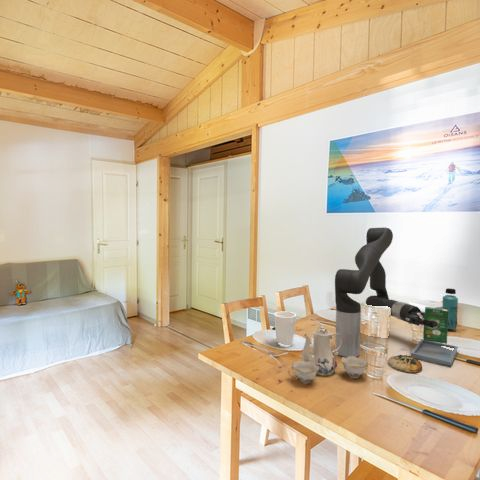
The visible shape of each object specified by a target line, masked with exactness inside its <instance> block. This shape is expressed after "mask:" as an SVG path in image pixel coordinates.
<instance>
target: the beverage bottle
mask: <svg viewBox="0 0 480 480" xmlns="http://www.w3.org/2000/svg"><path fill="white" fill-rule="evenodd" d="M444 293H445V294H446V295H444V296H442V308H441V309H448V311H449V317H448V321H449V325H448V330H449V329H450V330H455V329H457V327H458V308H459V306H458V305H459V304H458V303H459V298H458V297H457V296H455V295H456V294H457V293H456V289H455V288H446V289H445V291H444Z"/></svg>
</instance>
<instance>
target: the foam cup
mask: <svg viewBox="0 0 480 480" xmlns="http://www.w3.org/2000/svg"><path fill="white" fill-rule="evenodd" d="M273 321H274V329H275V336H276V337H275V338H276V343H277V342H278V343H281V344H284V345H291V344H292V345H293V341H294V335H295V327H296V322H297V314H296V313H295V312H291V311H283V310H281V311H276V312H274V313H273Z"/></svg>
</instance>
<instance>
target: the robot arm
mask: <svg viewBox="0 0 480 480" xmlns="http://www.w3.org/2000/svg"><path fill="white" fill-rule="evenodd" d="M393 239H394V235H393V231H392V229H390V228H388V227H369V228H368V229H367V231H366V239H365V240H366V243H365V244H364V245H362V247H361V248H360V249H359V250H358V251H357V252H356V254H355V256H354V263H355V265H356V267H357V269H356V270H355V269H346V268H342V269H341V268H340V269H338V270H336V273H335V276H334V277H335V278H334V294H335V298H334V299H335V333H337V334H339V335H340V336H341V337H342V341H343V343H342V346H341V348H340V349H339V350H337V352H338V355H337V356H341V357H345V358H347V357H348V356H355V357H356V358H358V357H360V354H361V315H362V313H361V312H362V310H361V309H362V306H361V304H360V302H358V301H356V300H354V299H352V298H351V297H350V296H349V295H348V294H352V295H360V294H362V293H363V292H364V290H365V288H366V287H367V284H368V281H369V287H370V289H371V290H372V291H375V293H376V295H370V296H368V297H367V298H366V300H365V305H366V304H367V305H372V306H388V307H390V308H391V315H390V316H391V317H394V318H396V319H397V320H400V321H403V322H406V323H408V324H411V325H415V326H417V327H418V326H420V325H421V326H423V327H424V325H425V326H428V327H431V328H434V322H432V321H429V320H425V319H424V317H425V311H421V309H420V308H419V307H418V306H415V305H414V304H413V305H412V304H410V303H407V302H401V301H397V300H395V299H390V298H389V295H388V290H387V287H386V284H387V283H386V281H387V280H386V278H387V277H386V276H387V275H386V274H387V273H386V270H385V268H384V266H383V264H382V263H381V261H380V259H381V258H382V256H383V254H384V253H385V252H386V250H388V249H389V248H390V246H391V244H392V242H393ZM448 325H449V321H448ZM339 345H340V337H339V336H337V335H335V349H337V348H338V347H339ZM335 349H334V350H335Z"/></svg>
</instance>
